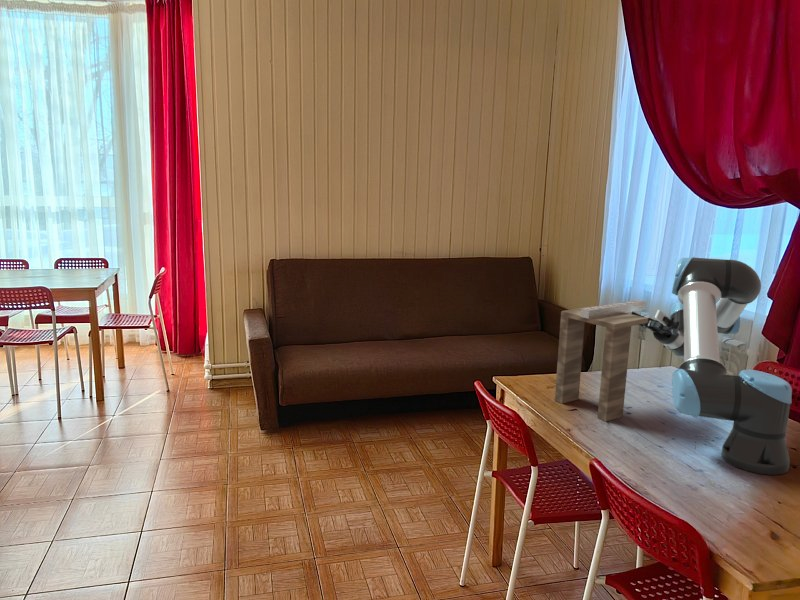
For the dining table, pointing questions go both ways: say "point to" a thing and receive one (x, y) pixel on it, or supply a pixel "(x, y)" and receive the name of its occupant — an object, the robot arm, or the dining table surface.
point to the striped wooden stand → (611, 365)
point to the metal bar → (613, 309)
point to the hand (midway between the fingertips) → (638, 309)
